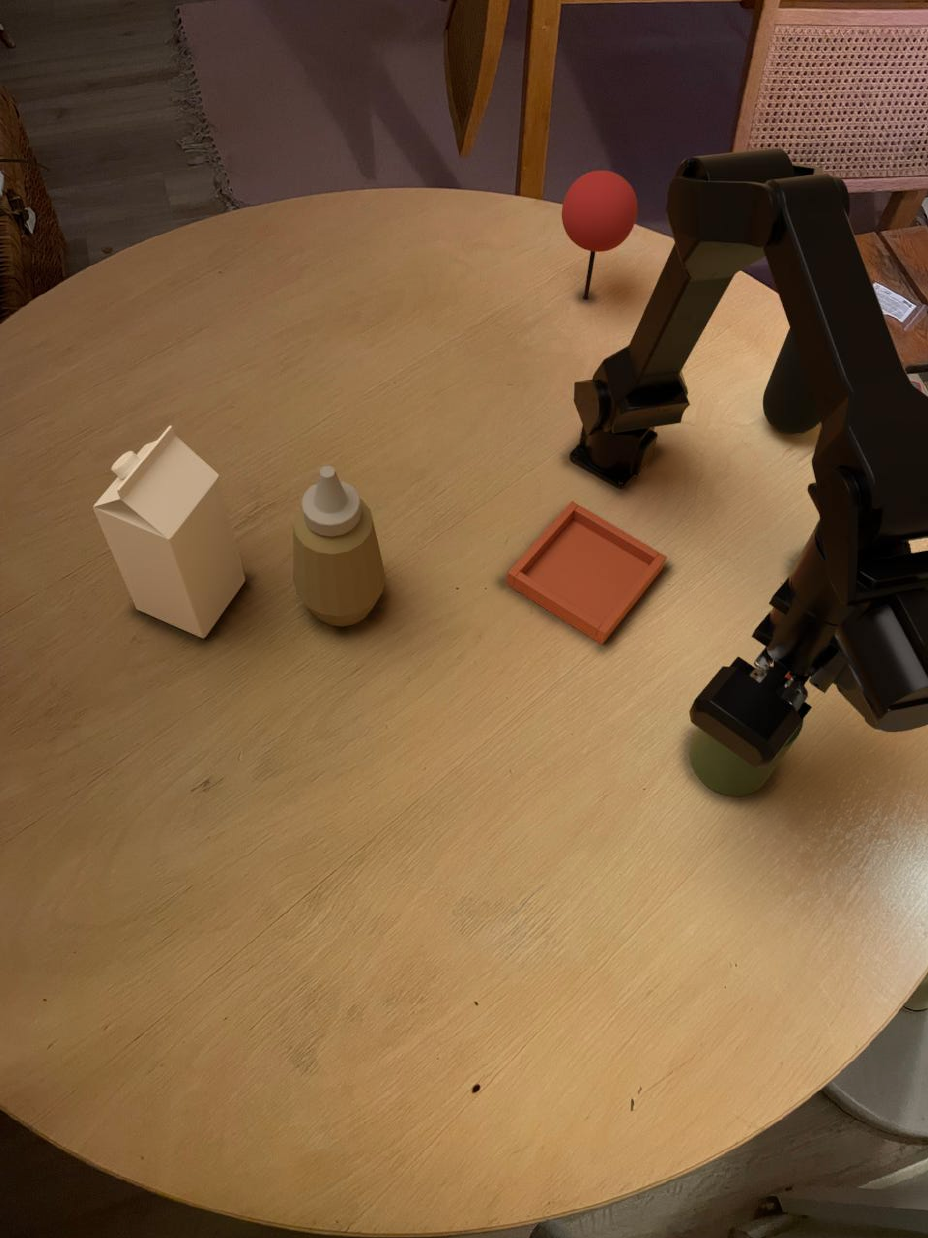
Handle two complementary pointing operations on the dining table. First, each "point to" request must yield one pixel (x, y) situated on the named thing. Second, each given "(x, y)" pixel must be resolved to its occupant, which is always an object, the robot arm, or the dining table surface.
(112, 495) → the milk carton
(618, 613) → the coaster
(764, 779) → the bottle
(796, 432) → the decorative object
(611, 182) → the lollipop
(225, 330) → the dining table surface
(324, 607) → the squeeze bottle
